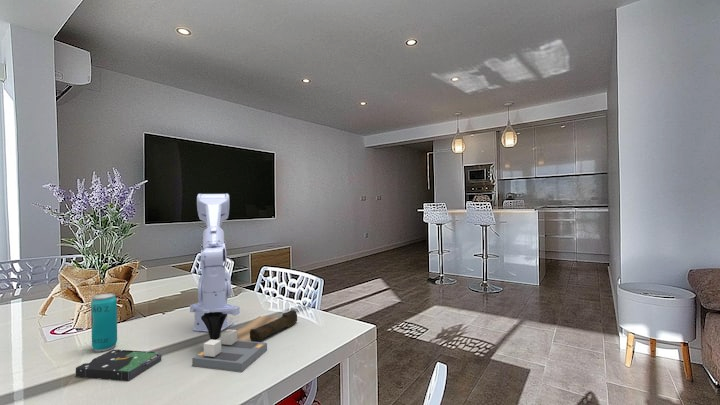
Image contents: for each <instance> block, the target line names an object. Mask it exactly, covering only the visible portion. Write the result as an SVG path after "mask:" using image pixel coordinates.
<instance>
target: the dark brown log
mask: <svg viewBox="0 0 720 405" xmlns="http://www.w3.org/2000/svg"><path fill="white" fill-rule="evenodd" d="M278 318H279V319H276V320H274V321H272V322H270V323H268V324H265V325H263V326H261V327H258V328H256V329H251V330H250V339H251V341H253V342H260V341H263V339H264V338H266V337H269V336H271V335H272V334H274V333H276V332H279V331H280V330H282V329H284V328H285V329H289V328H291V327H292V326H293V325H296V323H297V322H298V313H297V311H296V310H295V309H293V310H289V311H286V312H284V313H283V314H282V316H280V317H278Z"/></svg>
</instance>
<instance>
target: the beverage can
mask: <svg viewBox="0 0 720 405" xmlns="http://www.w3.org/2000/svg"><path fill="white" fill-rule="evenodd" d="M91 298H92V300H91V303H90V308H91V309H90V315H91V317H90V320H91V347H92V348H93V350H94V352H95V353H101V351H103V352H108V351H111V350H113V349H114V348H115V347H116V344H117V342H118V307H117V306H118V304H117V302H118V301H117V297H116V294H115V293H112V292H111V293H102V294H97V295H94V296H92V297H91ZM107 350H108V351H107Z"/></svg>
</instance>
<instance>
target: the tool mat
mask: <svg viewBox="0 0 720 405" xmlns="http://www.w3.org/2000/svg"><path fill="white" fill-rule="evenodd" d="M279 318H280V317H275V316H274V317H272V316H259V315H258V316H257V317H256V318H254V319H253V320H251V321H250V322H248V323H246V324H245V325H243V326H242V327H240V328H239V329H236V330H237V340H242V341H251V339H250V330H251V329H256V328H258V327H261V326H263V325H265V324H268V323H270V322H272V321H274V320H276V319H279Z"/></svg>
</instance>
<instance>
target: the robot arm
mask: <svg viewBox="0 0 720 405" xmlns="http://www.w3.org/2000/svg"><path fill="white" fill-rule="evenodd" d="M196 208H197V209H196V210H197V215H198V217H199V220H200V221H203V222H204V223H205V225H206V228H205V229H204V230H203V232H202V249H201V250H200V267H201V275H200V276H199V278H198V284H197V300H198V302H197V303H193V304H191V305H189V312H190V313H194V328H192V331H194V332H208V335H209V340H211V339H212V340H219V339H220V336H221V333H222V332H223V331H225V329H227V328H229V327H230V326H232V325H233V324H234V322H232V321H228V315H232V316H237V315H239V314H240V313H241V312H240V311H241V309H240V306H237V305H232V304H229V303H228V299H229V298H230V297H232V281H231V280H232V279H231V275H230V273H229V272H227V271H226V267H227V264H228V263H227V249H226V244H225V231H224V230H223V229H222V228H221V227H222V224H223V222H224V221H225V220H227V219H229V215H230V194H229V193H228V192H227V193H198V194H197V196H196Z"/></svg>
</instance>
